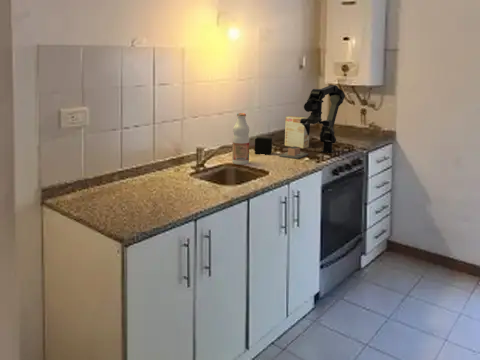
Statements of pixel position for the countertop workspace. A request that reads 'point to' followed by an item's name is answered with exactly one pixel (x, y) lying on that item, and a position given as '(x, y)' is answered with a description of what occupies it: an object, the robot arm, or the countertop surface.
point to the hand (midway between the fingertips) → (315, 136)
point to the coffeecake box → (295, 133)
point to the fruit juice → (241, 140)
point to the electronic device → (263, 145)
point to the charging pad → (293, 156)
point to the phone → (293, 150)
